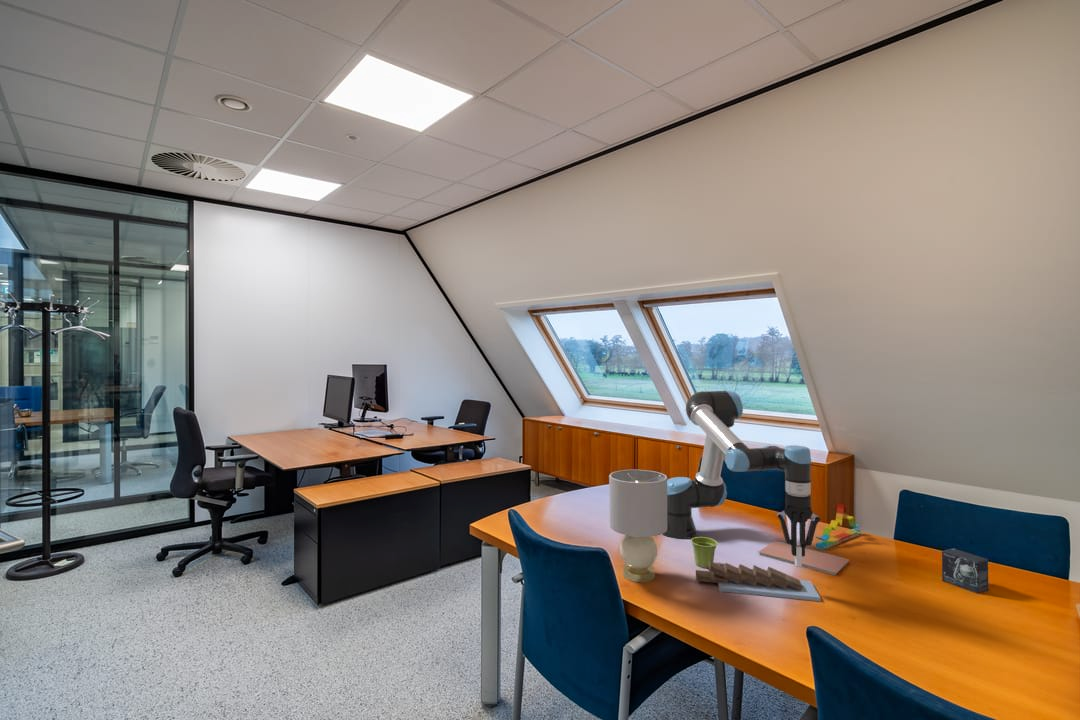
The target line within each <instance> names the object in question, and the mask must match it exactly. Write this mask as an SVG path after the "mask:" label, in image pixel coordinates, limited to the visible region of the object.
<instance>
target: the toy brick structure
mask: <svg viewBox="0 0 1080 720" xmlns="http://www.w3.org/2000/svg"><path fill="white" fill-rule="evenodd" d="M846 510H847V509H846V506H845V504H841V503H837V509H836V515H835V519H834V520H833V519H831V520H830V524H829V526H828V525H824V529H823V533H822V536H820V537H819V536H815V538H816V539H818V540H819V542H816V543H815V549H818V550H821V551H824V550H827V549H829V548H831V547H833V546H836V545H838V544H841V543H844V542H846V541H848V540H850V539H853V538H856V537H857V536H860V535H861V530H859V529H857V528H858V527H860V524H857V523H856V521H855V518H854V516H852V515H848V513H847V511H846ZM843 519H846V520H848V524H849V527H852V529H849V530H846V531H844V532H842V533H839V534H836V535H833V536H832V537H830V536H831V532H832V531H836V530H837V527H838V526H839V527H842V526H843ZM850 530H852V531H850ZM853 531H856V532H853ZM857 532H860V533H857Z"/></svg>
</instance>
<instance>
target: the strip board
mask: <svg viewBox="0 0 1080 720" xmlns="http://www.w3.org/2000/svg"><path fill="white" fill-rule="evenodd" d="M798 580H799V581H800V582H801V584H802V586H803V587H802V589H801V591H800V590H798V589H796V588H793V587H791V586H789V585H787V588H786V589H784V588H781V587H779V586H777V585H775V584H772V585H771V588H769V587H767V586H765V585H763V584H761V583H758V582H757V584H756V586H753V585H751V584H749V583H747V582H745V581H742V580H740V583H739V584H738V583H735V582H733V581H731V580H729V579H728V584H725V583H717V585H718V590H719V592H722V593H723V592H727V593H733V594H734V593H735V594H745V595H754V596H763V597H764V596H765V597H775V598H783V599H795V600H803V601H811V602H812V601H814V602H821V596H820V594H819V593H818V591H817V589H816V588H815V586H814V584H813V583H812V581H811V580H803V579H798Z"/></svg>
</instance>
